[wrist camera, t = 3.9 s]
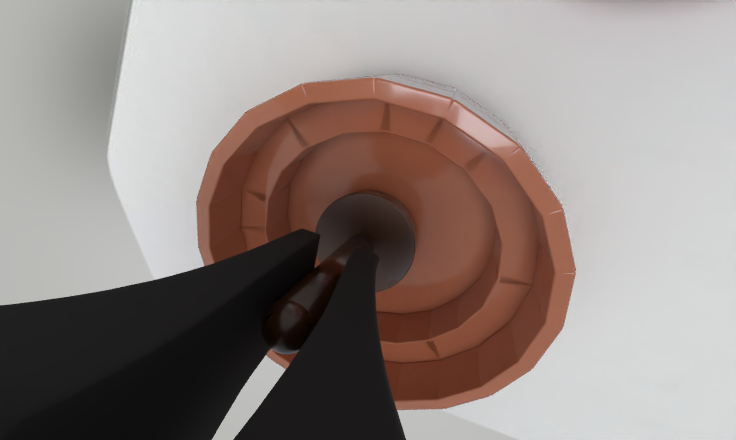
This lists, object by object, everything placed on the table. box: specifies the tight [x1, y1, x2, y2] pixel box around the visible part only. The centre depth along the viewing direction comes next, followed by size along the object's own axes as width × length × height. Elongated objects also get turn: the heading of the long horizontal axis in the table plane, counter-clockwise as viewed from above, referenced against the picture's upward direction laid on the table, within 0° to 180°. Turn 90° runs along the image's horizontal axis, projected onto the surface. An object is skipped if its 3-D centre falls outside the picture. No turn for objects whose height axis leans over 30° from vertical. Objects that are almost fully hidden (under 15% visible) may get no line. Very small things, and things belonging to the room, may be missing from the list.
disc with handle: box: [261, 190, 417, 354], centre depth 11 cm, size 5×5×9 cm
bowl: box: [196, 74, 576, 410], centre depth 14 cm, size 14×14×5 cm
